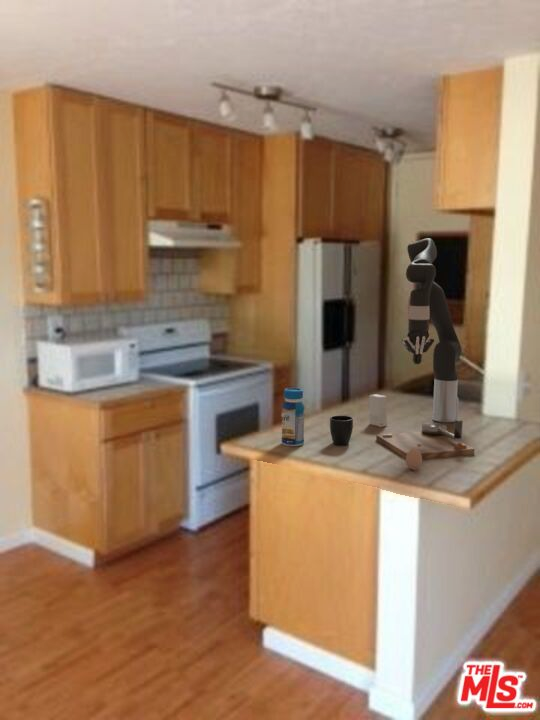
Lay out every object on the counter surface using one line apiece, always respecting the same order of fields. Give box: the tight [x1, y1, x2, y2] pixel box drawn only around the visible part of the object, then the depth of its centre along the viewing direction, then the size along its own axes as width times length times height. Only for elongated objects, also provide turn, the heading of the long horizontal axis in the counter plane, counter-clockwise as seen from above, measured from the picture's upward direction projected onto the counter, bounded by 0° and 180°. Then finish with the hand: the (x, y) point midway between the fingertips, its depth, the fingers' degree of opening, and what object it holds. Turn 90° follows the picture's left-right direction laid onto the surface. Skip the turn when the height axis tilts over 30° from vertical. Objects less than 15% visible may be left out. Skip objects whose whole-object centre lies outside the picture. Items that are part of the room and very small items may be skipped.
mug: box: [329, 414, 354, 447], centre depth 244 cm, size 8×12×10 cm
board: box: [375, 430, 476, 460], centre depth 239 cm, size 25×25×3 cm
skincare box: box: [368, 393, 388, 428], centre depth 268 cm, size 6×4×12 cm
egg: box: [405, 449, 423, 471], centre depth 214 cm, size 5×5×7 cm
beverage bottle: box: [280, 387, 306, 447], centre depth 241 cm, size 8×8×20 cm
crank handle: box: [421, 419, 463, 441], centre depth 244 cm, size 22×9×8 cm, turn 16°
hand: (417, 363), depth 253 cm, fingers closed
